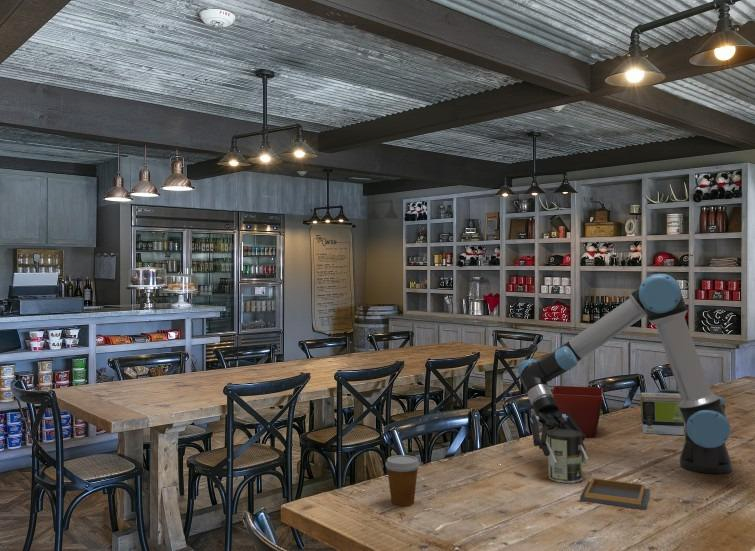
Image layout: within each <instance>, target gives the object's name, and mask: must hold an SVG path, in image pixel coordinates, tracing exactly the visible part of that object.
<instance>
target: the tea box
mask: <svg viewBox="0 0 755 551" xmlns="http://www.w3.org/2000/svg"><path fill="white" fill-rule="evenodd" d="M681 400H682V398H681V395H680V394H669V393H657V392H640V412H641V414H640V417H641V418H640V419H641V420H640V421H641V429H642V433H643V434H652V435H653V434H656V435H673V436H685V422H684V419H683V417H682V414H681V411H680V408H679V404H680V402H681Z"/></svg>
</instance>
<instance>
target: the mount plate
mask: <svg viewBox="0 0 755 551" xmlns="http://www.w3.org/2000/svg"><path fill="white" fill-rule="evenodd" d="M650 490H651V489H650V488H646V484H643V483H636V482H635V483H634V482H629V481H619V480H618V481H617V480H612V479H605V478H603V479H602V478H594V477H592V478H591V480H590V481H587V483H586V485H585V487H584V488H583V491H582V493H581V495H580V496H579V501H580V500H581V502H587V501H589V502H588V503H594V502H596V503H595V504H601V503H602V505H610V506H616V507H623V508H631V509H639V510H647V506H648V502H649V498H650V494H651V492H650Z"/></svg>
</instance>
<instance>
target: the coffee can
mask: <svg viewBox="0 0 755 551" xmlns="http://www.w3.org/2000/svg"><path fill="white" fill-rule="evenodd" d="M581 437H582V433H581V432H578V431H575V430H569V429H558V428H555V429H554V428H553V429H550V430H549V429H548V432H547V443H549V444H550V447H551V449H552V451H553V454H554V456H555V458H556V461H557V463H556V465H555V466H554V467H552V466H551V464H550V462H549V459H548V458H547V472H548V475H547V477H549V478H548V479H549V480H550V479H551V481H552V480H553V482H556V483H560V482H562V483H563V484H575V482H577V483H580V482H582V481H581V480H583V467H582V465H583V463H582V446H581V443H582V442H581ZM579 481H580V482H579Z"/></svg>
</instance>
